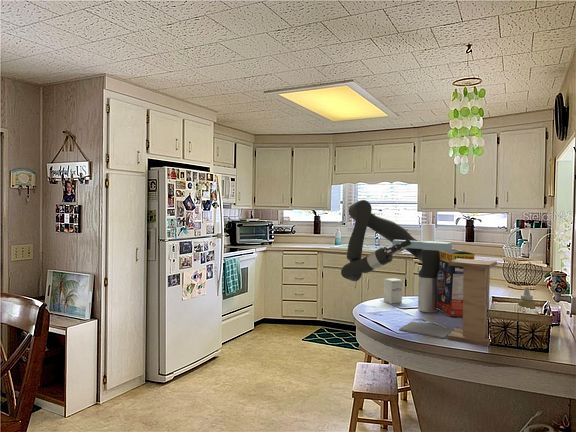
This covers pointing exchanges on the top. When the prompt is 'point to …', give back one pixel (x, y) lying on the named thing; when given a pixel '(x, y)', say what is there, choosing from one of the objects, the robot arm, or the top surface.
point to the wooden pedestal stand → (474, 301)
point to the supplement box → (393, 290)
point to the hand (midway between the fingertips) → (411, 241)
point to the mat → (427, 329)
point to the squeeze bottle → (527, 300)
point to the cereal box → (451, 283)
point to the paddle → (427, 245)
